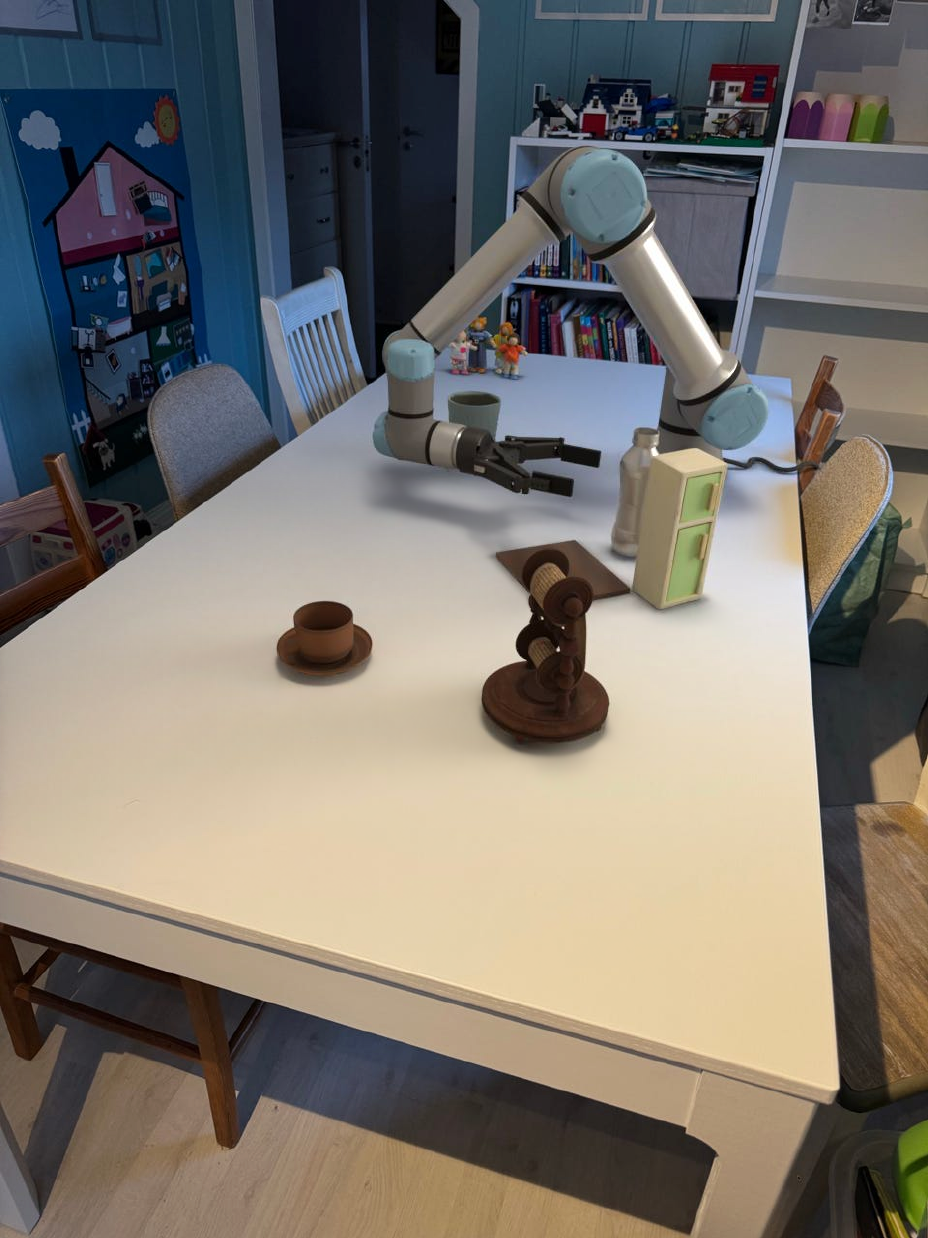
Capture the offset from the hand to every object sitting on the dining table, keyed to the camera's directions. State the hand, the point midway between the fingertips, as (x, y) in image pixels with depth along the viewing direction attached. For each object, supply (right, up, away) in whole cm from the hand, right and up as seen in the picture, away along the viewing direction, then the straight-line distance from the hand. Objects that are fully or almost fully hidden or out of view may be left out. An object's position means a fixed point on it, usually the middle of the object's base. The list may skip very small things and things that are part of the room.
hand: (587, 473), depth 137 cm
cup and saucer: (-37, -28, -25) cm, 52 cm away
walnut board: (-4, -16, -4) cm, 17 cm away
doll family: (-13, +41, +89) cm, 99 cm away
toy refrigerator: (+11, -19, -8) cm, 24 cm away
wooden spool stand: (-10, -34, -33) cm, 49 cm away
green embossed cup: (-18, +9, +37) cm, 42 cm away
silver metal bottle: (+7, -12, +3) cm, 15 cm away
